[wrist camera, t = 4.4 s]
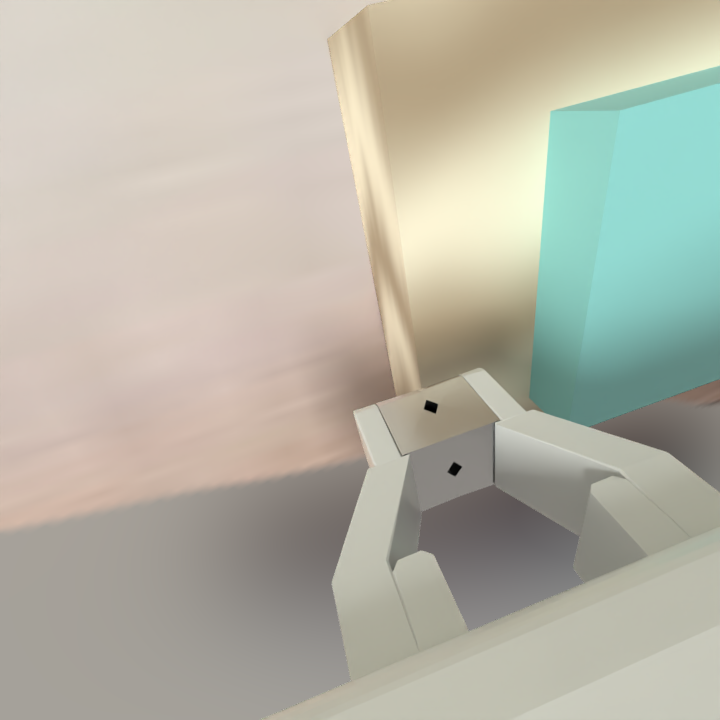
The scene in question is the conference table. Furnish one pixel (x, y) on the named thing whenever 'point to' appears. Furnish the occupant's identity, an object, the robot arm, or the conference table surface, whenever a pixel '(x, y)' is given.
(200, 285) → the conference table surface
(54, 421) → the conference table surface
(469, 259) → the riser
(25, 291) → the conference table surface
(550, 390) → the turquoise rectangular block
